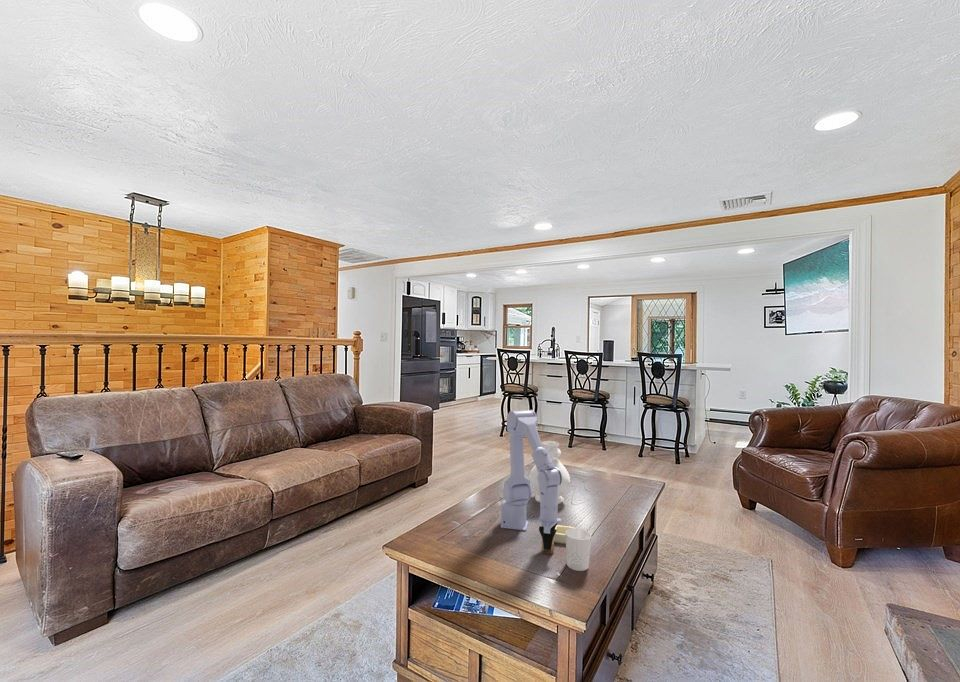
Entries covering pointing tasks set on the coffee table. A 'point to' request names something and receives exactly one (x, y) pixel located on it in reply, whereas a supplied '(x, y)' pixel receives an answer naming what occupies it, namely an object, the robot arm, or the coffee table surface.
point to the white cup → (578, 549)
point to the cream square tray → (561, 533)
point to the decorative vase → (554, 454)
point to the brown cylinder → (548, 550)
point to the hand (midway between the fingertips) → (547, 545)
